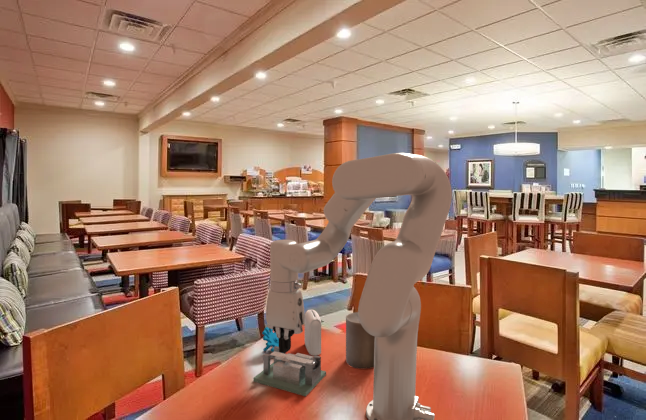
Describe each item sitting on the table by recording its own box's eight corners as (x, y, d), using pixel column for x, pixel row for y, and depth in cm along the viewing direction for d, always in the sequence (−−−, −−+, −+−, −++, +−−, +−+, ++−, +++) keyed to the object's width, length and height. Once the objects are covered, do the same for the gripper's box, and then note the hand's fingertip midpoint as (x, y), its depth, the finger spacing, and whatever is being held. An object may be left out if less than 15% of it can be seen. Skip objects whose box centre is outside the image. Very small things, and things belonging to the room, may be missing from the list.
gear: (279, 356, 115) (259, 329, 118) (265, 368, 116) (247, 341, 119) (294, 347, 125) (276, 321, 128) (282, 357, 127) (264, 332, 129)
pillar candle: (384, 361, 116) (384, 312, 115) (364, 373, 109) (364, 321, 108) (358, 351, 123) (359, 305, 122) (338, 362, 116) (338, 313, 115)
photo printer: (303, 342, 129) (303, 306, 128) (315, 341, 130) (316, 305, 129) (309, 356, 119) (309, 317, 118) (322, 355, 120) (322, 316, 119)
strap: (317, 364, 104) (318, 360, 103) (312, 369, 101) (312, 365, 101) (275, 354, 109) (275, 349, 109) (268, 358, 107) (268, 354, 106)
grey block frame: (323, 374, 106) (323, 354, 105) (309, 388, 99) (309, 367, 98) (277, 363, 112) (277, 344, 112) (261, 375, 105) (261, 355, 105)
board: (326, 374, 108) (326, 371, 108) (305, 396, 97) (305, 392, 97) (277, 362, 115) (277, 359, 115) (253, 381, 104) (253, 377, 104)
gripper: (315, 285, 105) (315, 351, 106) (269, 279, 111) (269, 341, 113) (301, 292, 98) (301, 362, 99) (253, 285, 104) (254, 351, 106)
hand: (284, 351), depth 106 cm, fingers closed
